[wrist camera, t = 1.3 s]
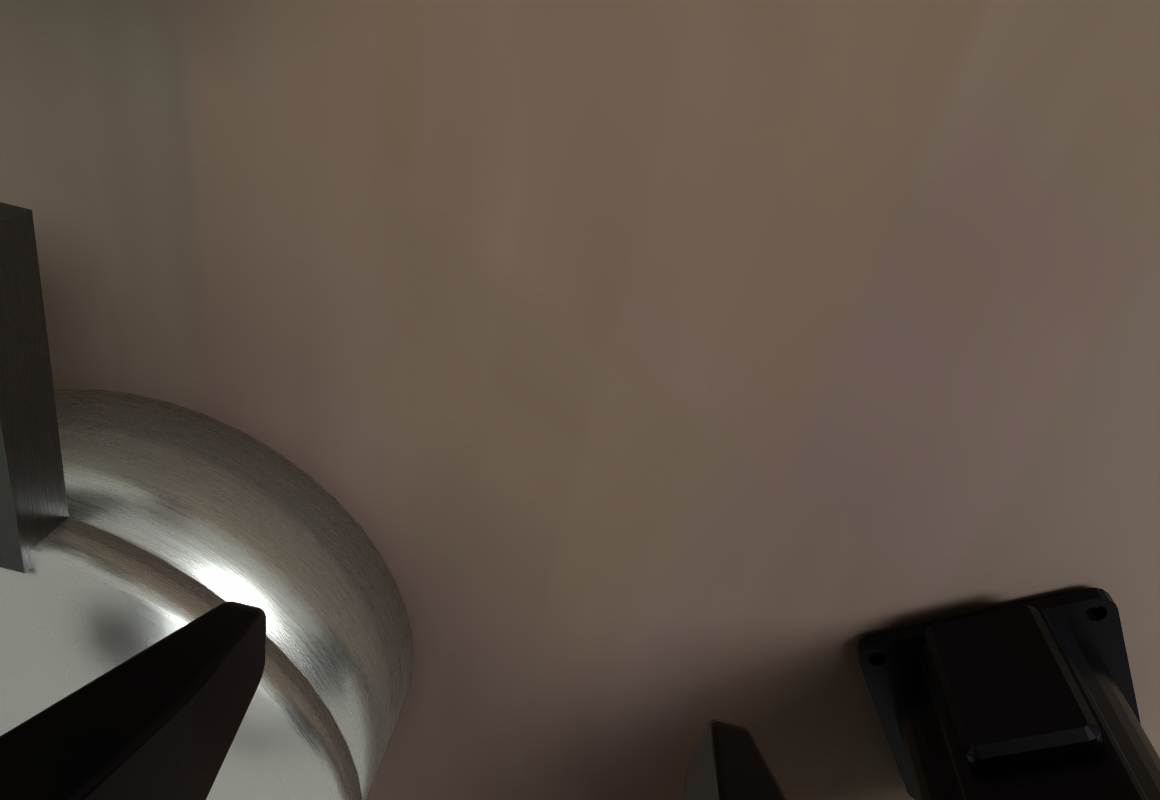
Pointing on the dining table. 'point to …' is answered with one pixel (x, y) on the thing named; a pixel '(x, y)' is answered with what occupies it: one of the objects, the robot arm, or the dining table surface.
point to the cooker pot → (248, 546)
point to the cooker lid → (115, 580)
